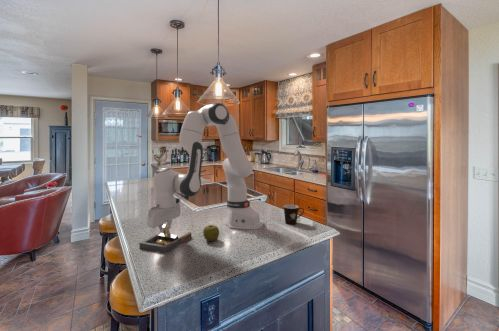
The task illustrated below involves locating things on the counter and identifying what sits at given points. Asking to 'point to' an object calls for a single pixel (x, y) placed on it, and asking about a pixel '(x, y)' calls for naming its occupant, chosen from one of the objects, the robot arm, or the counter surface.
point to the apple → (211, 232)
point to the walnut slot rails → (182, 239)
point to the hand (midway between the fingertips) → (165, 230)
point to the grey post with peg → (167, 234)
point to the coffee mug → (291, 214)
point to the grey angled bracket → (155, 247)
